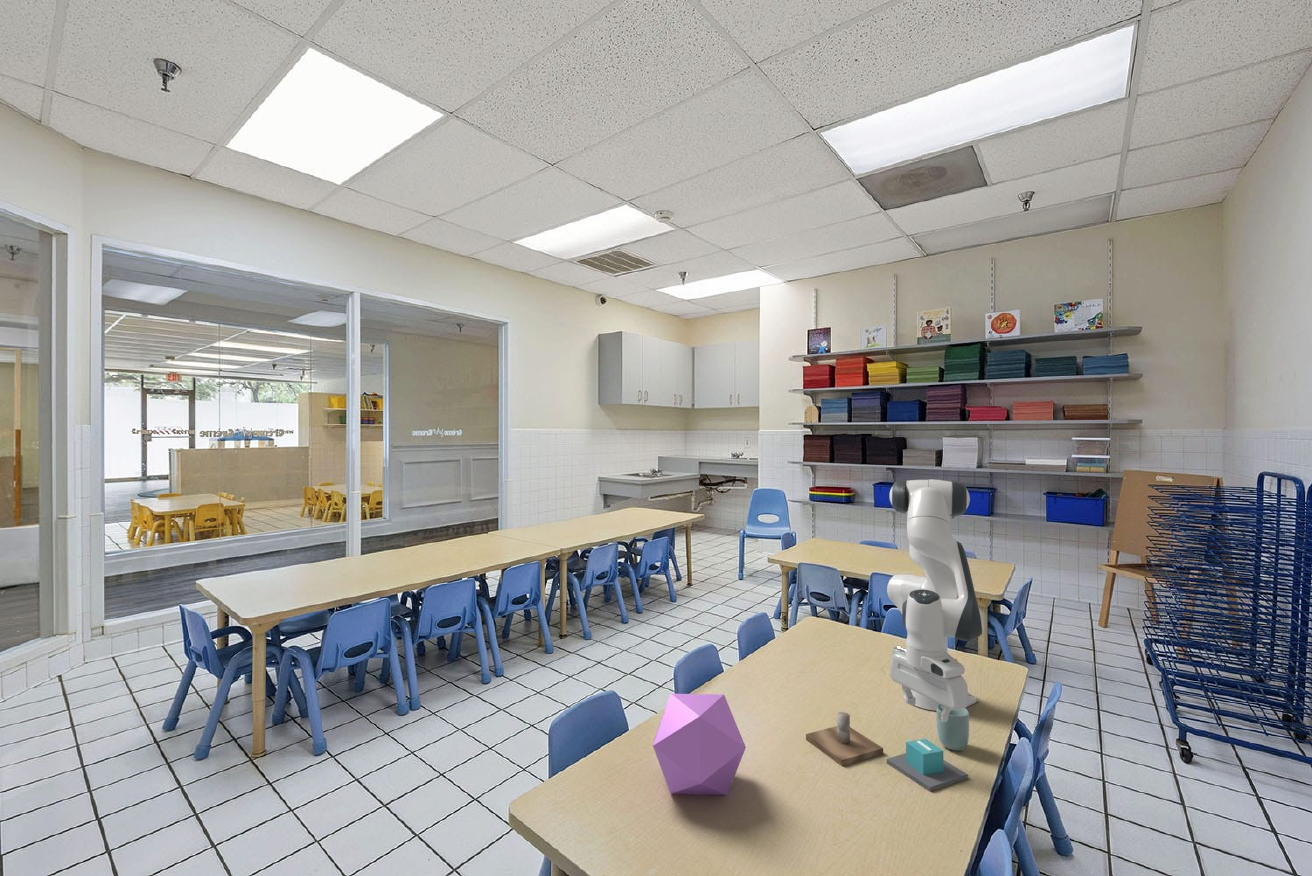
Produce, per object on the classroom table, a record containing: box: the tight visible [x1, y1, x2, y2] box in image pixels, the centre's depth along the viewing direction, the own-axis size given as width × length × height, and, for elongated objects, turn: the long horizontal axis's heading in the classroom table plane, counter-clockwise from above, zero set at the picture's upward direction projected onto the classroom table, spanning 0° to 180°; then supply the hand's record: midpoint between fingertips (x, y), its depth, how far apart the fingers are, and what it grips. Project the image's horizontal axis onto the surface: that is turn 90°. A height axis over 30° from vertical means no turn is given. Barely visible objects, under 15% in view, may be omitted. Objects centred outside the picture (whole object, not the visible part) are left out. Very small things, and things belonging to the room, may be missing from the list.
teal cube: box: [905, 738, 944, 775], centre depth 139 cm, size 6×6×5 cm
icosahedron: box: [652, 693, 747, 796], centre depth 133 cm, size 22×21×25 cm
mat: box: [886, 752, 969, 792], centre depth 139 cm, size 13×13×1 cm
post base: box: [805, 711, 884, 767], centre depth 150 cm, size 14×14×8 cm
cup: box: [936, 704, 970, 752], centre depth 150 cm, size 8×8×10 cm
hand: (926, 712), depth 140 cm, fingers open, 8 cm apart
